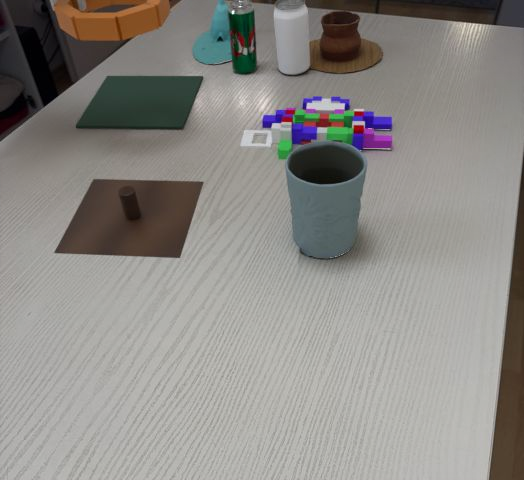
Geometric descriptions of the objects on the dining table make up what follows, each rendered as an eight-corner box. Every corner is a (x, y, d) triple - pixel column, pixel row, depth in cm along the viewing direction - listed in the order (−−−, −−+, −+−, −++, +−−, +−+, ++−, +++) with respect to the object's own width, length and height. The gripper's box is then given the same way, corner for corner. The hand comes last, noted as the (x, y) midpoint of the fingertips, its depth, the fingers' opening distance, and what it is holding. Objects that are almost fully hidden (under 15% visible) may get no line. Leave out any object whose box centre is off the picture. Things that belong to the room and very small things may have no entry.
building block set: (390, 103, 99) (393, 78, 96) (392, 166, 86) (396, 140, 83) (254, 101, 102) (253, 76, 99) (237, 161, 89) (235, 136, 86)
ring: (47, 40, 80) (40, 17, 77) (83, 0, 90) (78, -21, 87) (153, 41, 78) (148, 17, 76) (178, 0, 88) (174, -22, 86)
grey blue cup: (348, 269, 72) (356, 191, 62) (276, 254, 74) (273, 177, 65) (366, 223, 77) (376, 145, 68) (299, 211, 80) (299, 134, 71)
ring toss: (55, 257, 76) (42, 228, 72) (94, 183, 87) (85, 154, 83) (180, 262, 74) (174, 233, 70) (204, 185, 85) (200, 156, 82)
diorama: (184, 65, 114) (177, 19, 107) (202, 27, 126) (196, -16, 120) (241, 65, 112) (238, 19, 106) (253, 26, 125) (251, -17, 118)
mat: (76, 128, 99) (75, 125, 99) (107, 78, 111) (107, 75, 111) (183, 129, 97) (182, 126, 96) (203, 78, 109) (202, 75, 109)
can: (276, 63, 112) (270, -2, 102) (307, 57, 112) (304, -8, 102) (280, 78, 108) (274, 12, 98) (312, 72, 108) (310, 6, 98)
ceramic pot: (280, 61, 112) (279, 24, 107) (324, 31, 121) (325, -5, 116) (357, 81, 105) (360, 42, 100) (398, 47, 114) (403, 9, 109)
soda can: (253, 62, 113) (249, -4, 104) (260, 72, 110) (257, 5, 101) (229, 66, 112) (223, 1, 103) (236, 76, 109) (231, 10, 100)
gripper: (117, -114, 74) (140, 1, 84) (-23, -109, 76) (17, 2, 87) (103, -103, 70) (129, 17, 80) (-44, -97, 72) (0, 18, 83)
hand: (70, 9), depth 84 cm, fingers closed on ring, 2 cm apart
